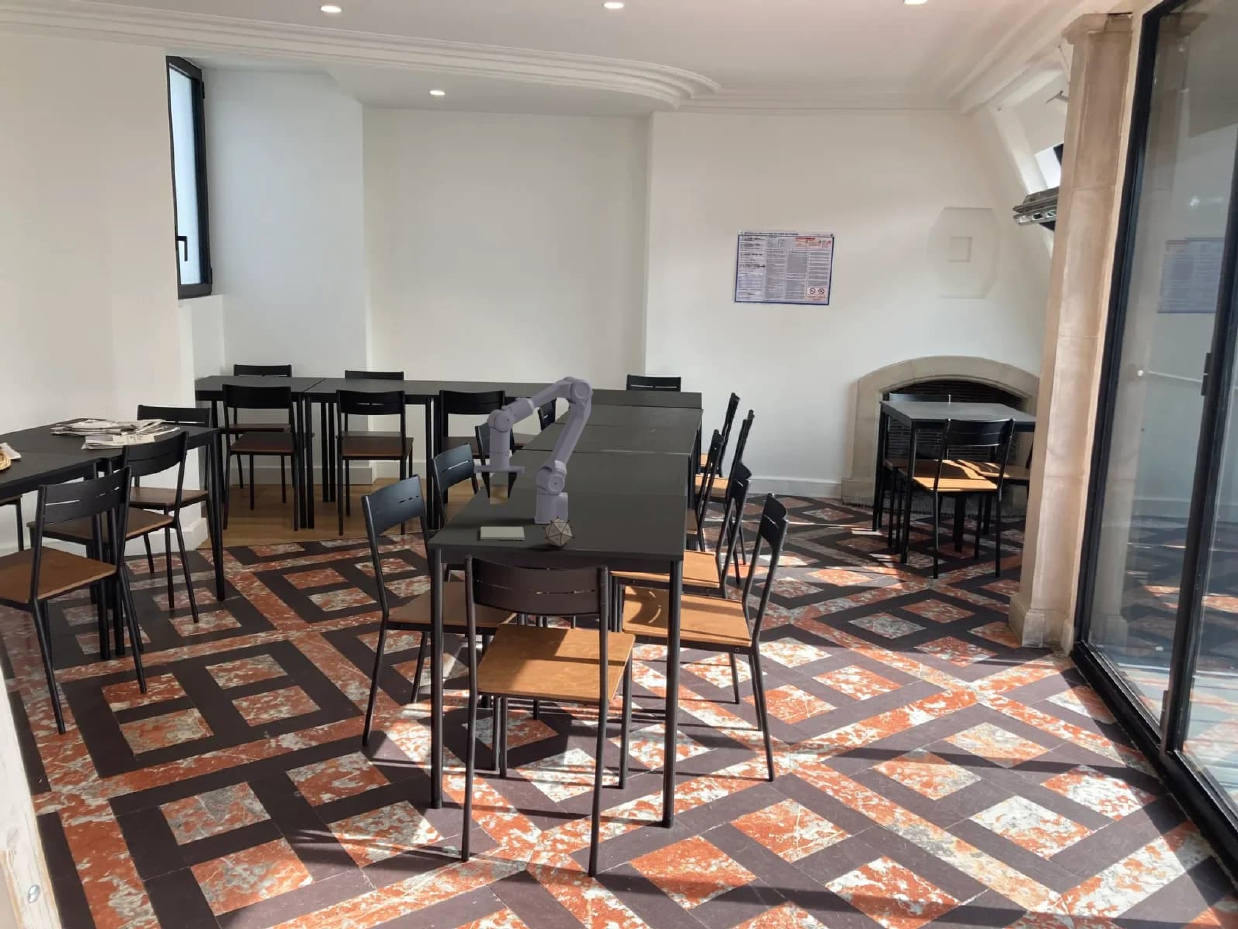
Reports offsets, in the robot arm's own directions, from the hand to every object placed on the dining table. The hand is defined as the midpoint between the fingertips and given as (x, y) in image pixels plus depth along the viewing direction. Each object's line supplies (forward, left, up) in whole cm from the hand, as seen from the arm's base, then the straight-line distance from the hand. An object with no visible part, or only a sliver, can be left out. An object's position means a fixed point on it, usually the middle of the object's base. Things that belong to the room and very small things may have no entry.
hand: (498, 497), depth 275 cm
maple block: (0, 0, -1) cm, 1 cm away
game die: (-16, +22, -9) cm, 29 cm away
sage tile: (-1, +11, -8) cm, 14 cm away
